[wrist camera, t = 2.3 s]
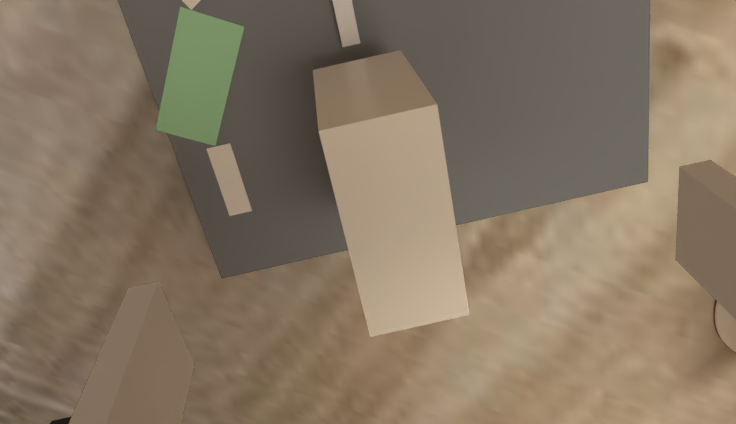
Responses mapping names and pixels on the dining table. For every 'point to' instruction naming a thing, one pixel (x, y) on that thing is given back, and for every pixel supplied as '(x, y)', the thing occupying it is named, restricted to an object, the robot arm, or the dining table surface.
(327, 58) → the tuner board
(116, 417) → the robot arm
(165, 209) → the dining table surface
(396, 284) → the peg
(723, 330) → the mug
